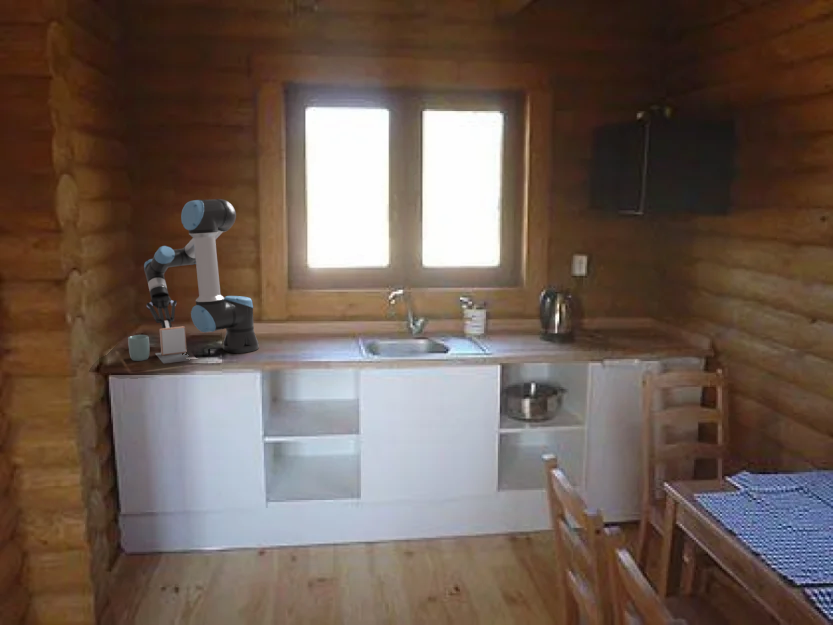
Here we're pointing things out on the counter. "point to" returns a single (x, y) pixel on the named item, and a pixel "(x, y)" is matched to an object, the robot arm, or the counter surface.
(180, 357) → the mat
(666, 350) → the counter surface
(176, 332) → the tile
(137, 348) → the cup
